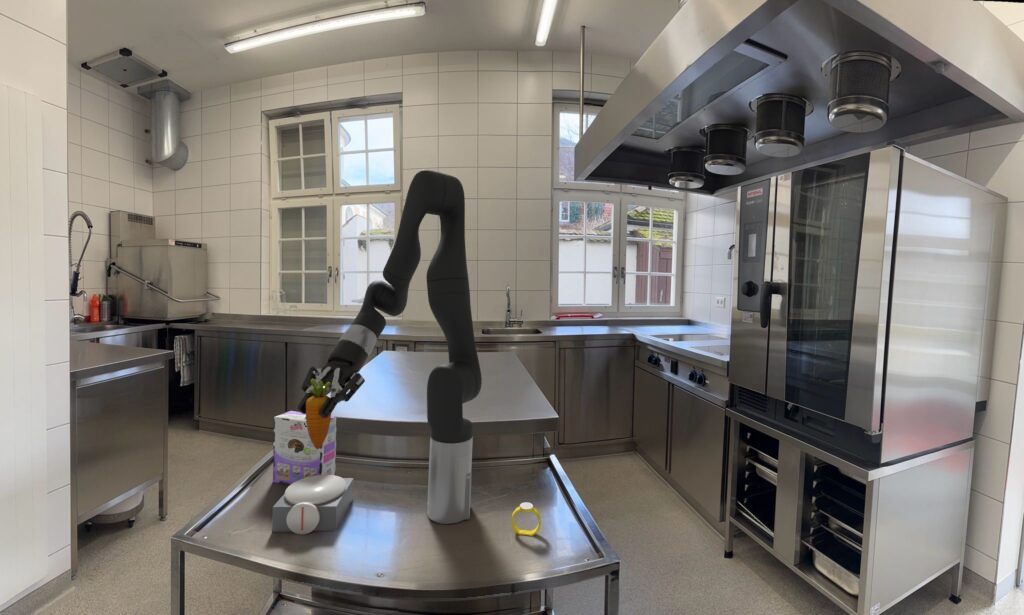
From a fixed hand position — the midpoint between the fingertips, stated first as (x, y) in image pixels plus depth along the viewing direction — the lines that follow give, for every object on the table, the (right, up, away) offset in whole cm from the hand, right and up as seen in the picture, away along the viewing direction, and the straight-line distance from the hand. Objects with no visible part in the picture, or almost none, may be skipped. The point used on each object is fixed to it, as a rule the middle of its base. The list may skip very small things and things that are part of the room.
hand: (311, 413), depth 83 cm
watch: (+44, -25, 0) cm, 50 cm away
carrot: (0, -8, +2) cm, 9 cm away
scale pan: (0, -17, +2) cm, 17 cm away
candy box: (-10, -21, +17) cm, 29 cm away
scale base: (-1, -22, +3) cm, 22 cm away
